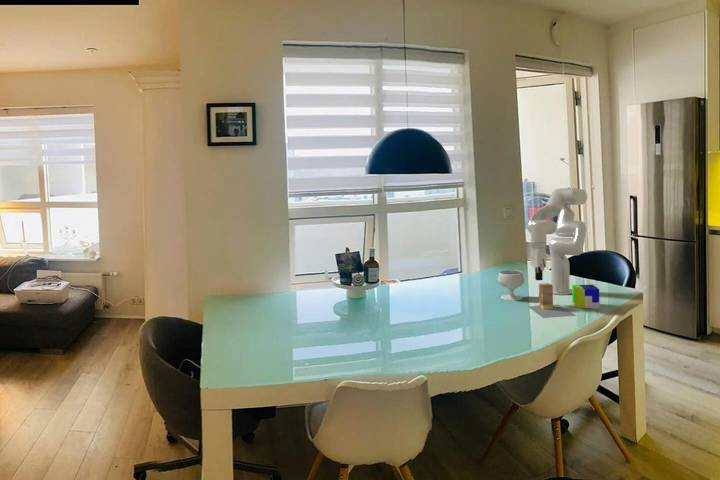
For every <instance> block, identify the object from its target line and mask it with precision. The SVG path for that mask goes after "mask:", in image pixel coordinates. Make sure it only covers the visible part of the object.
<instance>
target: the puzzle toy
mask: <svg viewBox="0 0 720 480" xmlns="http://www.w3.org/2000/svg"><path fill="white" fill-rule="evenodd" d="M571 290H572V293H571V295H572V296H571V297H572V298H571V302H572V303H573V305H574V306H575V307H576V308H577V309H592V310H594V309H595V310H599V309H600V289H599V288H598V287H597V286H595V285H594V284H572V285H571Z"/></svg>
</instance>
